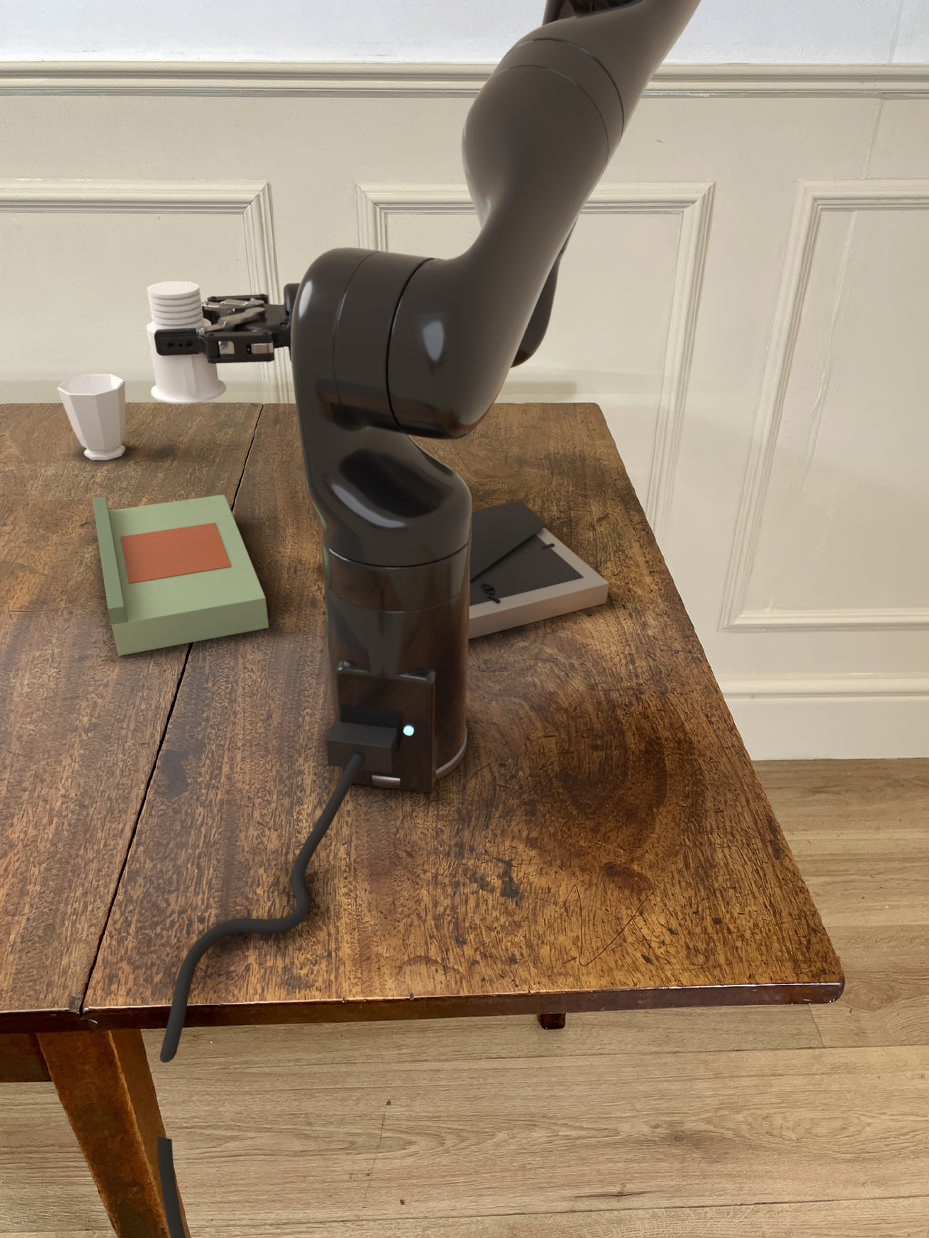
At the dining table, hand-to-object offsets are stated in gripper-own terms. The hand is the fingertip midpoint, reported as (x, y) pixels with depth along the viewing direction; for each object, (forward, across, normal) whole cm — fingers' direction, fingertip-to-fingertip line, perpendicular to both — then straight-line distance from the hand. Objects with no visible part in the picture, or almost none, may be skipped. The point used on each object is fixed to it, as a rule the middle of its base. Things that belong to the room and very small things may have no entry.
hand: (158, 330), depth 88 cm
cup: (+10, -15, +18) cm, 25 cm away
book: (0, +16, +18) cm, 24 cm away
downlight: (-2, 0, +6) cm, 6 cm away
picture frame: (-25, +21, +18) cm, 37 cm away
